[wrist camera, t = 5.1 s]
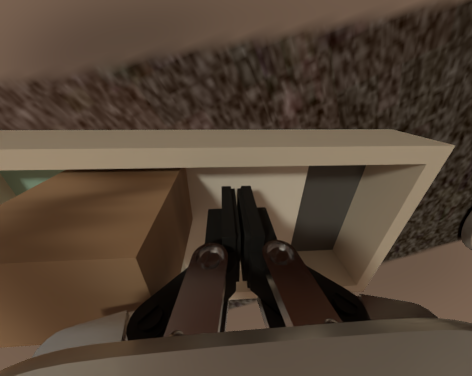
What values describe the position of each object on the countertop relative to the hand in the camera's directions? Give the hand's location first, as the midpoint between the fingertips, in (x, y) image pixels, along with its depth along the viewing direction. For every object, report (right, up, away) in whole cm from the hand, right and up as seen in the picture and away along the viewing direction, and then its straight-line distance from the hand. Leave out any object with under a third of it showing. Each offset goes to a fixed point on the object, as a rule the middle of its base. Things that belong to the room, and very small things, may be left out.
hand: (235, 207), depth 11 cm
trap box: (-2, -1, +4) cm, 5 cm away
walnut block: (-6, +1, +1) cm, 6 cm away
